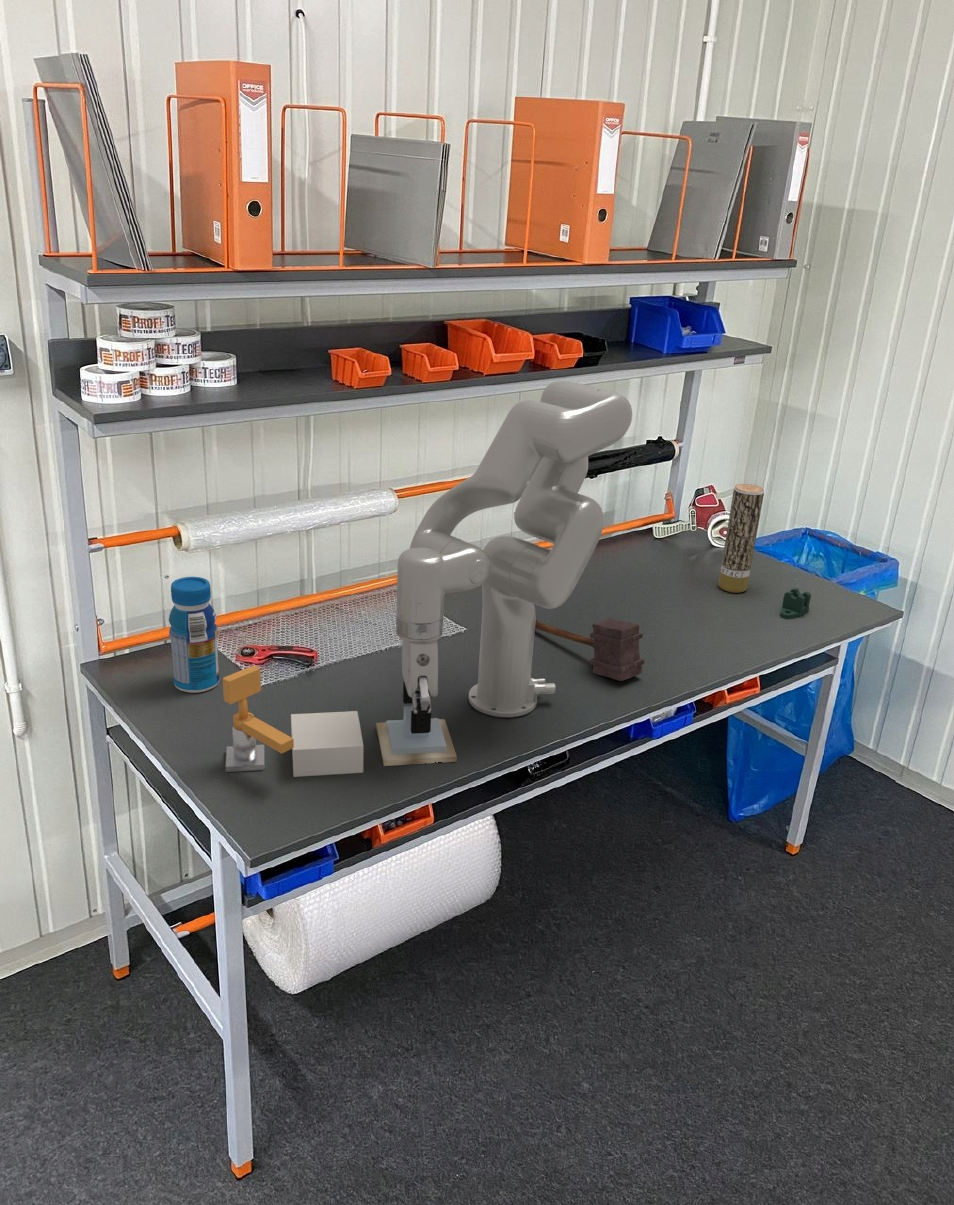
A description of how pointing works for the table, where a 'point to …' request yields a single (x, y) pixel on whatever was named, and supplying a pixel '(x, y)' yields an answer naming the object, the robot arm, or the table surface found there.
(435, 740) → the cover
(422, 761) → the pad
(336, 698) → the table surface
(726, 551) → the paper tube
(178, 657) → the beverage bottle
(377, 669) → the table surface
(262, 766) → the grey square flange base
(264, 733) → the latch
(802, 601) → the mount
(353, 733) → the housing
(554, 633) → the hammer
